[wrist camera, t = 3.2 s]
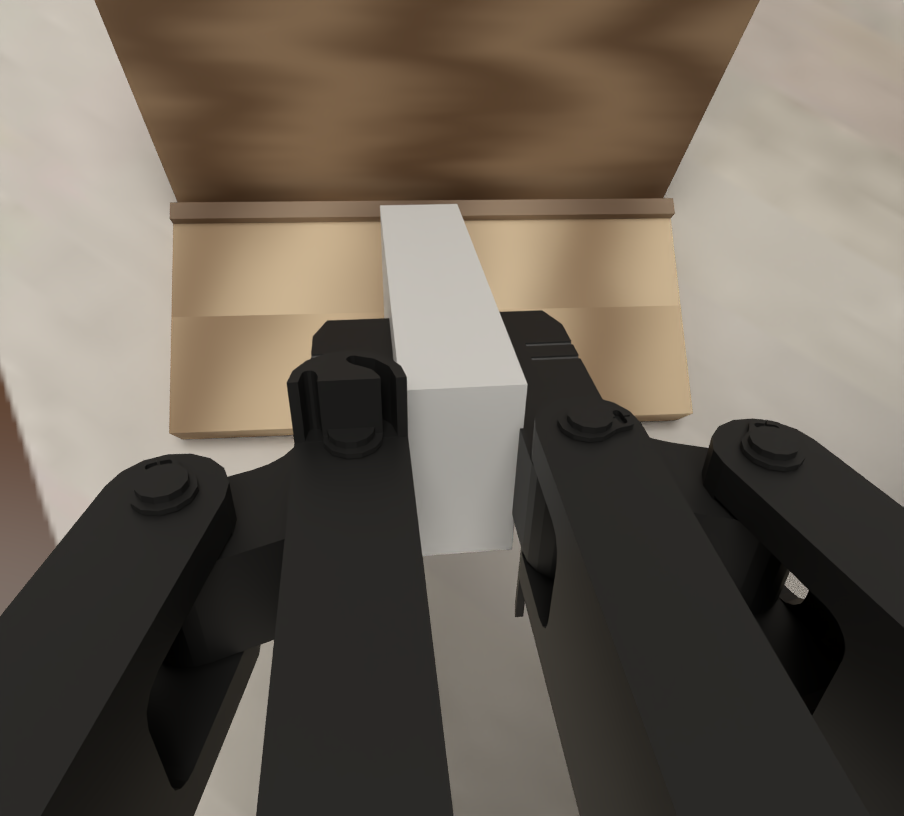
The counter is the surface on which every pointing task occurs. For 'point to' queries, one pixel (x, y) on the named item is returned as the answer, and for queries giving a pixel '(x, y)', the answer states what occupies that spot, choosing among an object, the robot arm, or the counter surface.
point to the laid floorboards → (361, 297)
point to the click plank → (422, 94)
